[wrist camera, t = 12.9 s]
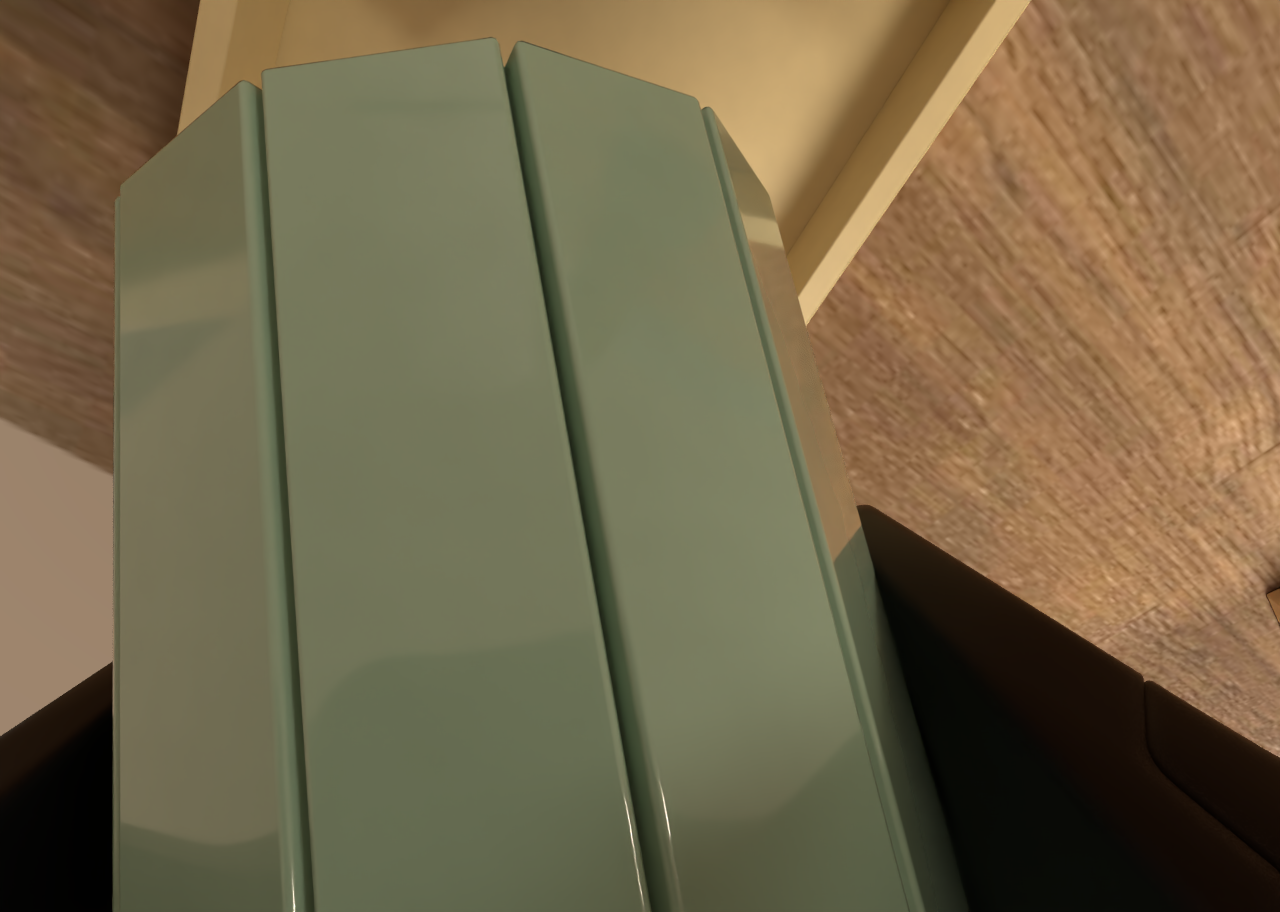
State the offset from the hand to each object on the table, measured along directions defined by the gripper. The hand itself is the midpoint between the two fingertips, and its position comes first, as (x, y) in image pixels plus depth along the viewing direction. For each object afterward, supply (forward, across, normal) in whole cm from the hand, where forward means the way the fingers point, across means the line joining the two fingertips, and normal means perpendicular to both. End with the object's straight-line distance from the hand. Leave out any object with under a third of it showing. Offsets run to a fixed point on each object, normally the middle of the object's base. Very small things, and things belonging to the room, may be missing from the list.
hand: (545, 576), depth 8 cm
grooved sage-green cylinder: (-2, 0, +1) cm, 2 cm away
